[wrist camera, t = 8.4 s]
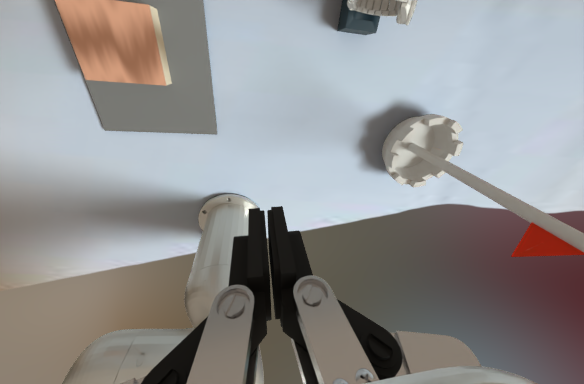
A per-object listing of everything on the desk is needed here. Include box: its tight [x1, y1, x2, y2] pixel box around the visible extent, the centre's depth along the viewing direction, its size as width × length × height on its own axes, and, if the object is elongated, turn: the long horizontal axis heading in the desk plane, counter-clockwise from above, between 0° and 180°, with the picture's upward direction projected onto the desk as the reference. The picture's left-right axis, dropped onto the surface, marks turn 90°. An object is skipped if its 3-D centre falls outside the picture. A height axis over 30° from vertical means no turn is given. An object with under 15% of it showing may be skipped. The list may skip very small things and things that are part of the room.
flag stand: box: [382, 114, 584, 257], centre depth 29 cm, size 13×13×30 cm
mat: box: [54, 0, 217, 134], centre depth 27 cm, size 22×16×1 cm
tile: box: [55, 0, 172, 86], centre depth 25 cm, size 8×2×9 cm
